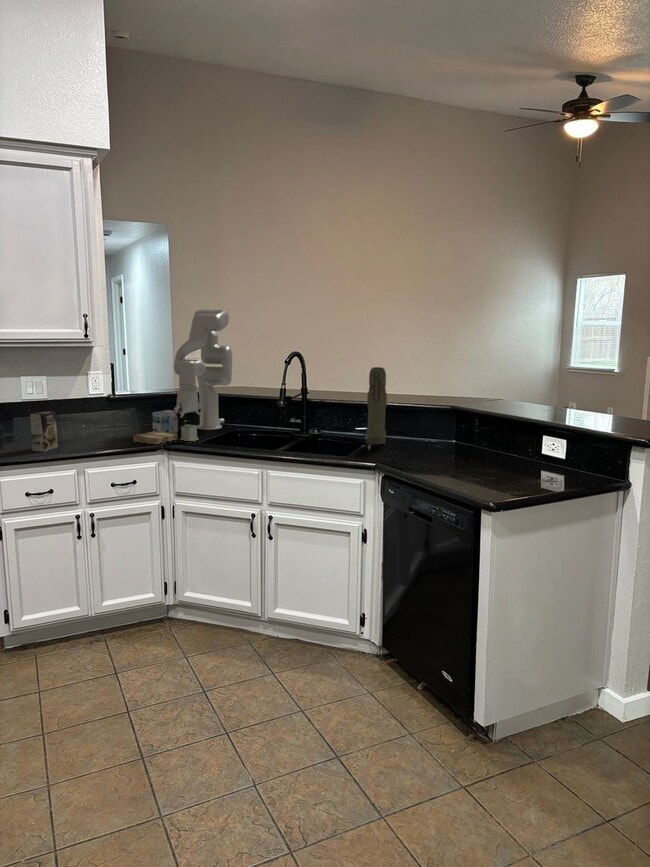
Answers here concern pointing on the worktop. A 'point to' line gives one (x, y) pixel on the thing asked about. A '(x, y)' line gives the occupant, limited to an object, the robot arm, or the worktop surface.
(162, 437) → the dock
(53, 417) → the coffee box
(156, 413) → the light bulb box
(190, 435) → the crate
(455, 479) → the worktop surface
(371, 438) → the thermos
